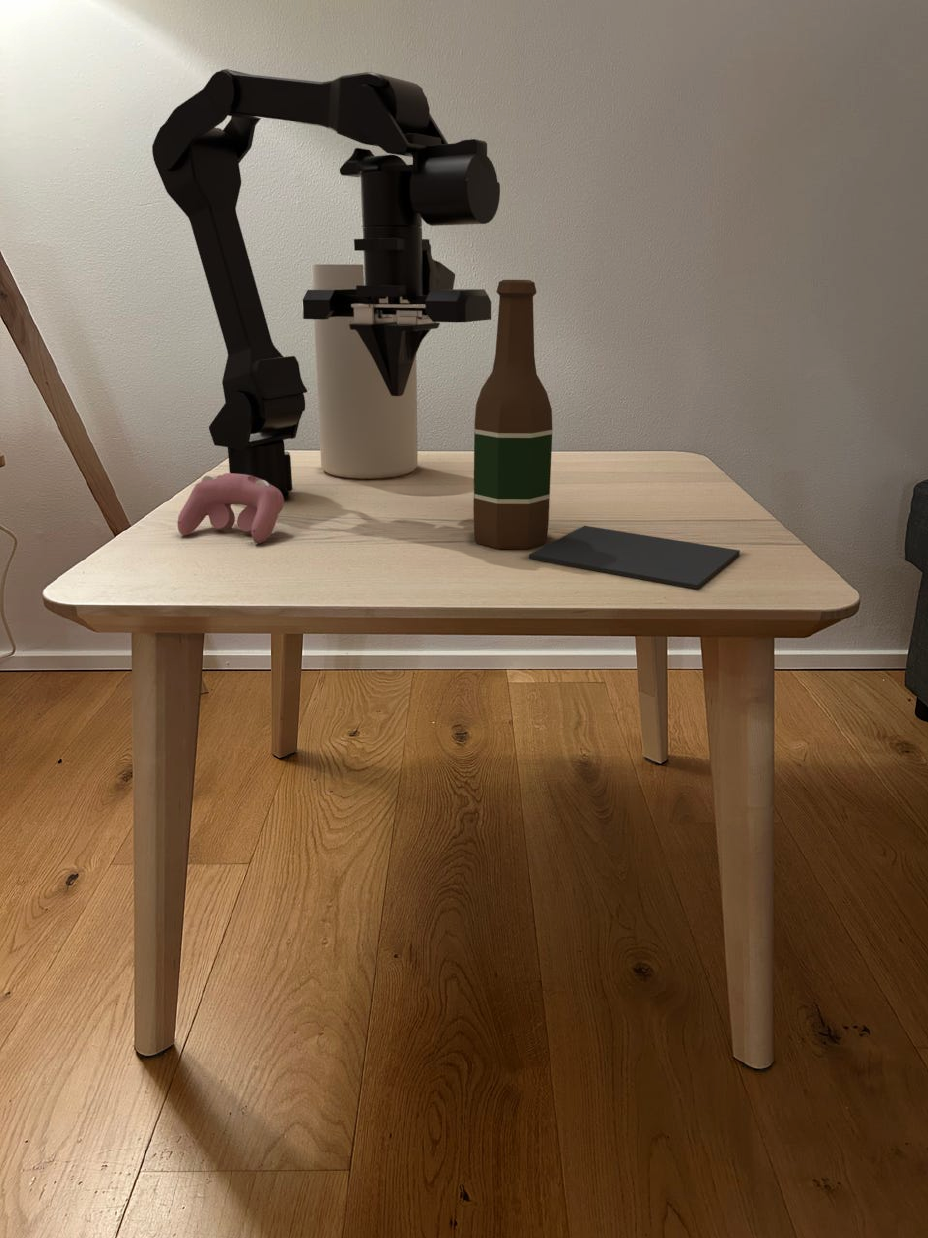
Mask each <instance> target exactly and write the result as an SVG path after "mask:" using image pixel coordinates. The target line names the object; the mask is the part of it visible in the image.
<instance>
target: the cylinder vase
mask: <svg viewBox="0 0 928 1238" xmlns="http://www.w3.org/2000/svg"><path fill="white" fill-rule="evenodd" d="M310 266H311V267H310V268H311V287H312V288H311V290H317V289H356V285H364V272H363V264H329V263H327V264H319V263H318V264H317V263H316V264H310ZM379 303H388V297H386V299H379ZM400 303H409V302H408V300H402V297H400ZM396 317H397V315H393V322H397V318H396ZM349 324H354V317H329V319H325V320H322V319H313V328H314V348H315V368H316V369H315V370H316V388H317V406H318V407H317V409H318V410H317V411H318V412H317V413H318V430H319V431H318V432H319V449H320V451H319V452H320V467H321V468H322V470H323V471H324V472H326V473H327V474H330V475H332V476H335V477H341V478H346V479H364V480H367V479H368V480H369V479H370V480H371V479H387V478H394V477H399V476H404V475H408V474H410V473H412V472H413V471H415V469H416V468H417V466H418V463H419V462H418V461H419V460H418V458H419V457H418V456H419V455H418V380H417V379H418V375H417V372H418V371H417V370H418V369H417V355H416V356H415V359H414V362H413V365H412V368H411V371H410V375H409V378H408V381H407V384H406V387H405V391H404V394H403V395H402V396H391V394H390V392H389V390H388V388H387V386H386V384H385V382H384V380H383V378H382V376H381V374H380V372H379V370H378V368H377V365H376V363H375V362H374V360H373V358H372V356H371V354H370V352H369V351H368V349H367V347H366V346H365V344H364V342H363V341H362V339H361V337H360V336H359V334H358V332H357V331H356V330H351V329H350V327H349Z"/></svg>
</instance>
